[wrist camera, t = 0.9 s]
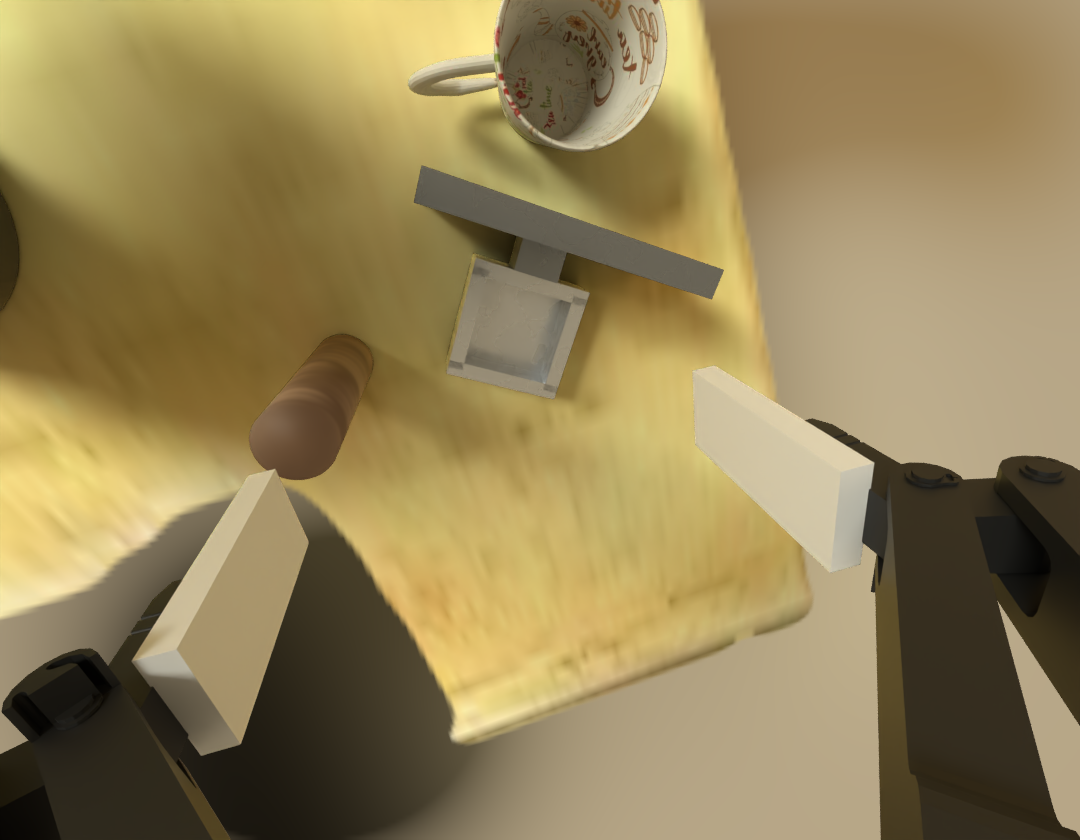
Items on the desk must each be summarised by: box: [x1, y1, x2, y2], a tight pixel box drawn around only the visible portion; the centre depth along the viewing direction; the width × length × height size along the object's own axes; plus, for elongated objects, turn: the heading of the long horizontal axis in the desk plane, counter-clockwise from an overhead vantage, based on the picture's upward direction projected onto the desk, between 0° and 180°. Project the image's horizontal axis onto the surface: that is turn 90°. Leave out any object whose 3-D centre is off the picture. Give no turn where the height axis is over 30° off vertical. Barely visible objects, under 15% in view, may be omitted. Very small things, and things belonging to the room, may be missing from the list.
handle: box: [249, 334, 373, 480], centre depth 31 cm, size 4×4×14 cm
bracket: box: [414, 166, 724, 399], centre depth 32 cm, size 16×12×12 cm
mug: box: [408, 0, 667, 152], centre depth 28 cm, size 8×12×10 cm, turn 99°
